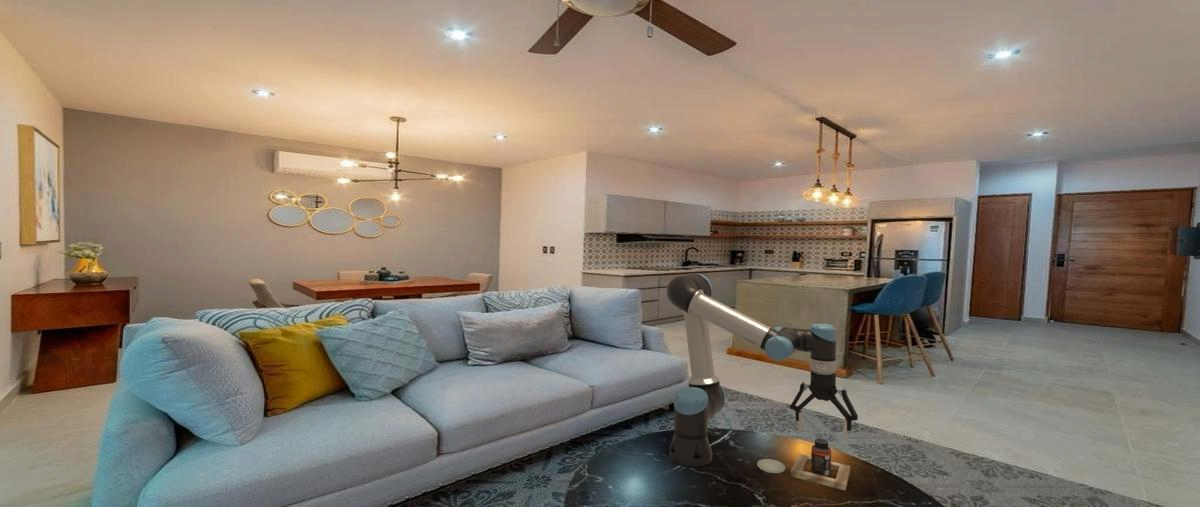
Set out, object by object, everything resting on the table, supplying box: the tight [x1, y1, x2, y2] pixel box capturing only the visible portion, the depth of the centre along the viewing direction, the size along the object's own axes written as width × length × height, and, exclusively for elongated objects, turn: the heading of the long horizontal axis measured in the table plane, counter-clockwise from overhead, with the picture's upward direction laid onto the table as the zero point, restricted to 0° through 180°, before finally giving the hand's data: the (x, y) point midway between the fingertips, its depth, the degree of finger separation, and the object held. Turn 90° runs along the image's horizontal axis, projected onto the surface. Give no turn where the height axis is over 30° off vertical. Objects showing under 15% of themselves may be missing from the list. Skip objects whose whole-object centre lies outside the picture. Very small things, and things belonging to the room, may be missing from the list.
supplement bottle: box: [810, 437, 832, 478], centre depth 158 cm, size 6×6×11 cm
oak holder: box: [790, 453, 851, 491], centre depth 158 cm, size 16×14×2 cm
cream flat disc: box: [757, 458, 786, 475], centre depth 163 cm, size 9×9×1 cm
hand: (822, 435), depth 157 cm, fingers open, 13 cm apart
